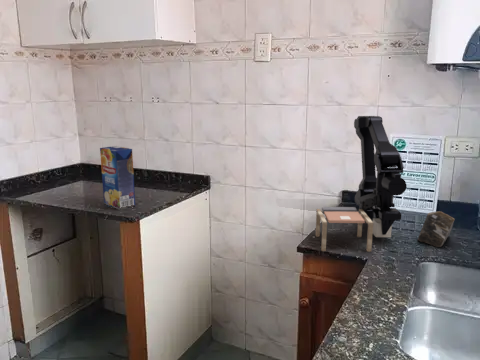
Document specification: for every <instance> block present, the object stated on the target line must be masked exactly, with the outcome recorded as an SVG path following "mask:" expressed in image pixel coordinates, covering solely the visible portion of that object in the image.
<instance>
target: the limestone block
mask: <svg viewBox="0 0 480 360" xmlns="http://www.w3.org/2000/svg"><path fill="white" fill-rule="evenodd" d="M392 229H393V224H392V225H391V227H390V228H389V230H388V232H387V233H386V235H383V234H382V228H381V220H380V219H379V218H376V217H375V218H373V234H372V235H373V236H374V237H376V238H391V237H392Z"/></svg>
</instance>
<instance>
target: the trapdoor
mask: <svg viewBox="0 0 480 360" xmlns="http://www.w3.org/2000/svg"><path fill="white" fill-rule="evenodd" d="M321 211H358V210H357V208H356V206H322V207H321ZM323 215H324V217H325V219H326V221H327V223H329V224H358V223H362V224H366V222H365V220H364V219H363V218H362V216H361V215H360V214H359V212H324V213H323Z"/></svg>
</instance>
